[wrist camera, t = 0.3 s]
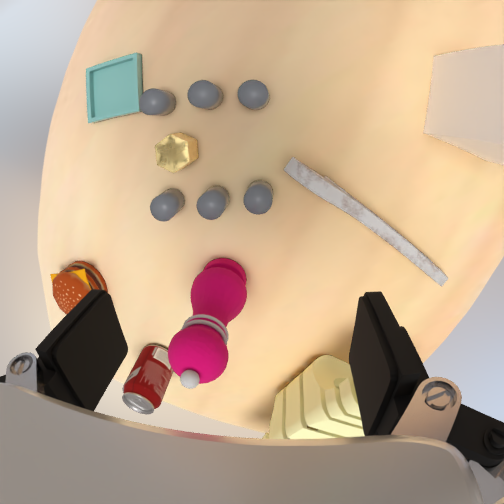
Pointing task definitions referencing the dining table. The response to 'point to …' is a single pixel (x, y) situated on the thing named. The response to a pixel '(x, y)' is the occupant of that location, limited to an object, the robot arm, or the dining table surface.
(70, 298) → the hamburger
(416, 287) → the dining table surface
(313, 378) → the slatted curved stool
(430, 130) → the milk
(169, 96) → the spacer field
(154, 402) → the soda can
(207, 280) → the pepper mill
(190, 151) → the gold hexagonal prism
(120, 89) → the teal dish
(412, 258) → the silver wrench
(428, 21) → the dining table surface
